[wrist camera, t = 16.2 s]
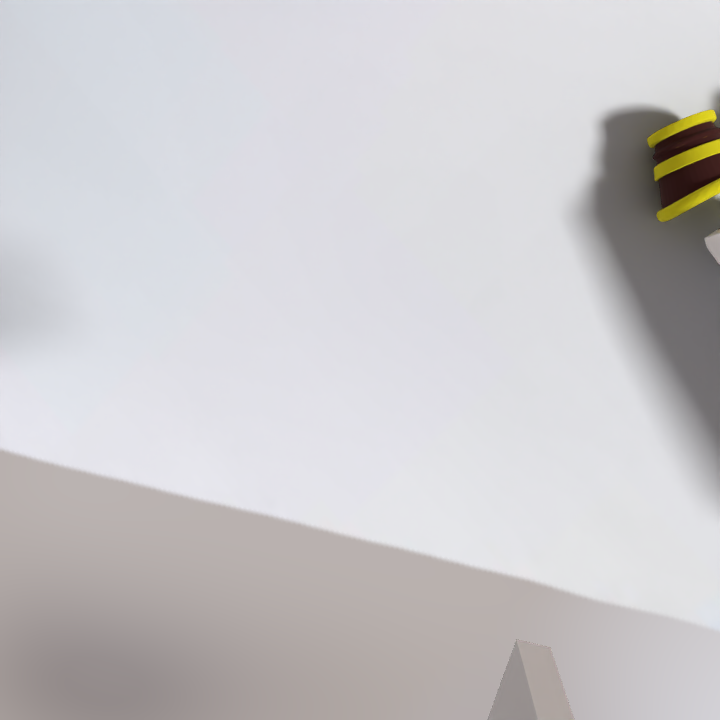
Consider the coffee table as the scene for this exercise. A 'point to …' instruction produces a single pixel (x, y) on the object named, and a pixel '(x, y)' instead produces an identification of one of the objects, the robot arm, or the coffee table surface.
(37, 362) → the coffee table surface
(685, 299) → the coffee table surface
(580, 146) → the coffee table surface
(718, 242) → the shelf bracket
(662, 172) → the opera glasses
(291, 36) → the coffee table surface
